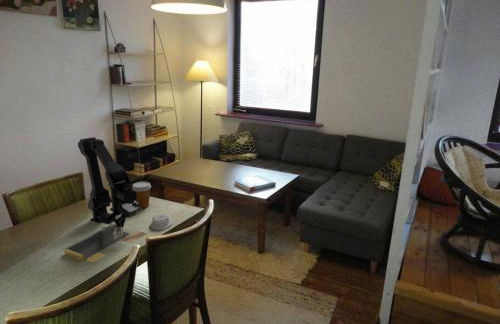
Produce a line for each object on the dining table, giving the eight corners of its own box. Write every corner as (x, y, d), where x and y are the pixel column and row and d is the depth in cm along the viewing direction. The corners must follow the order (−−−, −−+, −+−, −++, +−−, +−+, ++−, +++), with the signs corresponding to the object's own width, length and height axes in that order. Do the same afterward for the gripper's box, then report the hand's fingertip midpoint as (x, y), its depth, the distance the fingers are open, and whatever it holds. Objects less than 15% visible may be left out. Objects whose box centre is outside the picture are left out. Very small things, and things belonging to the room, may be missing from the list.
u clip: (102, 237, 152) (101, 227, 151) (111, 232, 156) (110, 223, 155) (114, 241, 149) (113, 231, 148) (123, 236, 153) (122, 226, 152)
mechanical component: (146, 229, 161) (166, 231, 159) (145, 220, 160) (165, 222, 158) (156, 219, 170) (175, 222, 169) (155, 211, 169) (175, 213, 167)
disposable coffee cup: (136, 202, 190) (135, 181, 186) (154, 202, 190) (153, 181, 186) (130, 209, 181) (128, 187, 177) (149, 210, 180) (147, 188, 177)
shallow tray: (62, 254, 138) (62, 249, 138) (113, 228, 160) (112, 224, 159) (80, 261, 134) (80, 256, 133) (130, 234, 155) (129, 229, 155)
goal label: (85, 260, 135) (85, 259, 135) (98, 252, 140) (98, 252, 140) (92, 262, 133) (92, 262, 133) (105, 255, 139) (105, 255, 138)
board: (120, 240, 150) (120, 240, 150) (137, 230, 159) (137, 230, 159) (130, 243, 148) (130, 243, 148) (147, 234, 156) (147, 233, 156)
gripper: (115, 208, 141) (118, 243, 145) (147, 193, 157) (149, 225, 161) (95, 202, 145) (99, 236, 150) (129, 189, 161) (131, 220, 166)
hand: (121, 229), depth 156 cm, fingers closed
